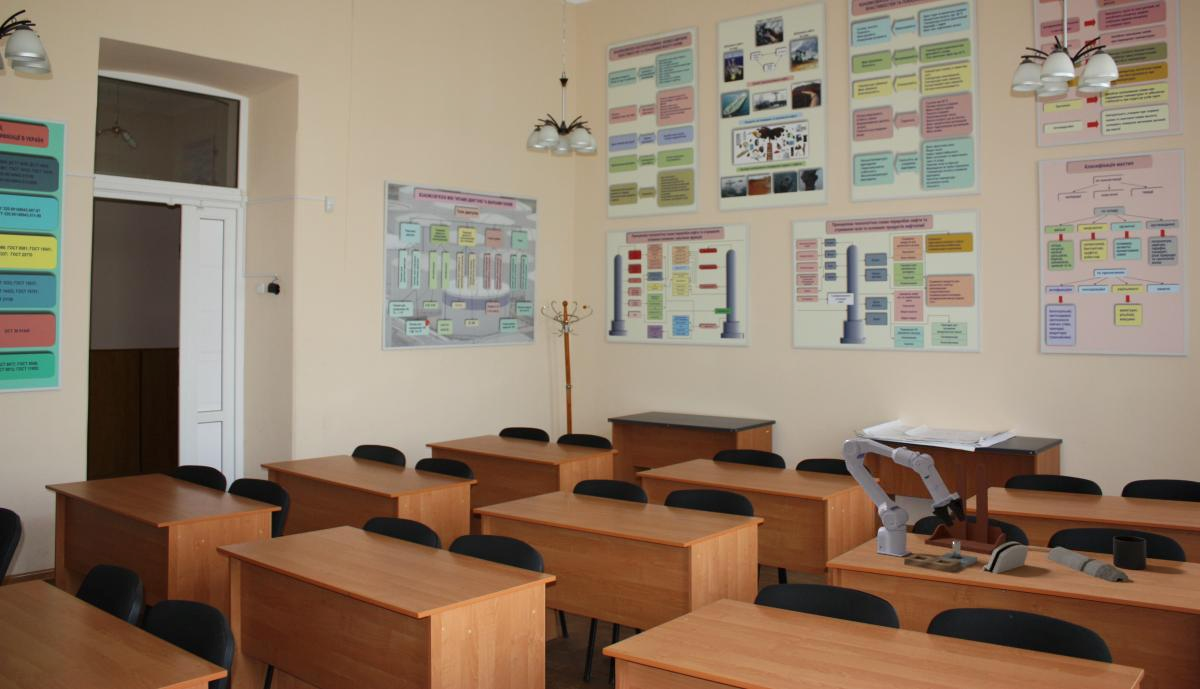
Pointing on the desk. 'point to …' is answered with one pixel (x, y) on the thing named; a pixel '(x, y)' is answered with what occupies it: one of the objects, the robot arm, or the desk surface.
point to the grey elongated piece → (1086, 564)
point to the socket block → (964, 559)
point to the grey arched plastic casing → (1007, 557)
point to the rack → (932, 563)
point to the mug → (1129, 552)
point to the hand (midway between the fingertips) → (957, 523)
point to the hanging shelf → (970, 534)
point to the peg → (956, 550)
